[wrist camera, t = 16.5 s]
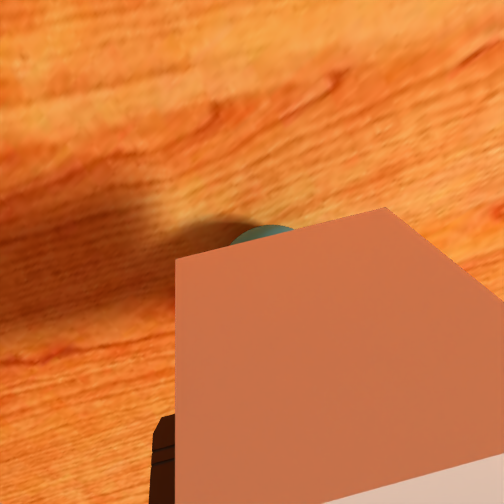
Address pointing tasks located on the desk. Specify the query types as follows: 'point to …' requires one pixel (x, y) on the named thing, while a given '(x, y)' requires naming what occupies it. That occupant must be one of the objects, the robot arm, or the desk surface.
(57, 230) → the desk surface
